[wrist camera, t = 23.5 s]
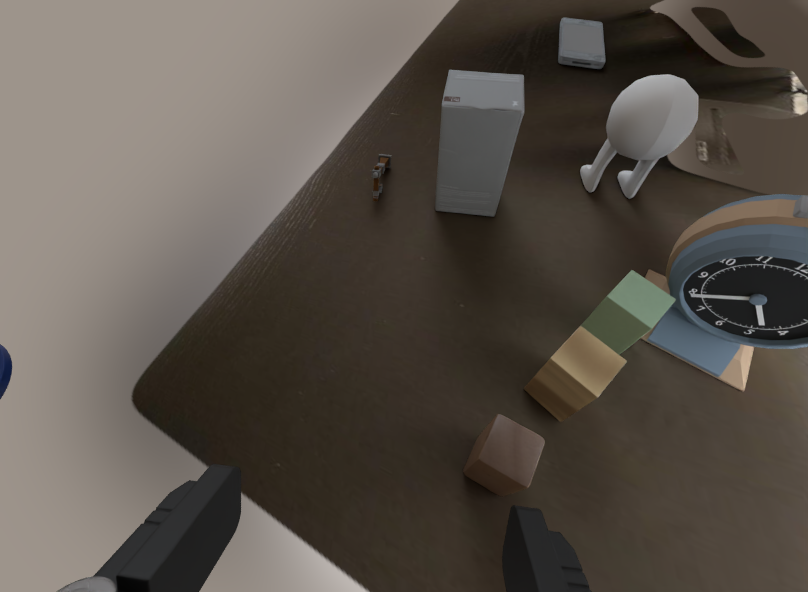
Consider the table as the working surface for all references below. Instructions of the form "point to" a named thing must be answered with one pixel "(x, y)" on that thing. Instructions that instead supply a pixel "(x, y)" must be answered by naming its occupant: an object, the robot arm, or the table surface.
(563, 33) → the phone
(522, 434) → the wooden block
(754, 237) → the alarm clock
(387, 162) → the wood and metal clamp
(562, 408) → the line block
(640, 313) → the line block
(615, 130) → the toy character
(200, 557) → the robot arm
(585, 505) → the table surface
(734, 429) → the table surface
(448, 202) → the cosmetic box
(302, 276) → the table surface
